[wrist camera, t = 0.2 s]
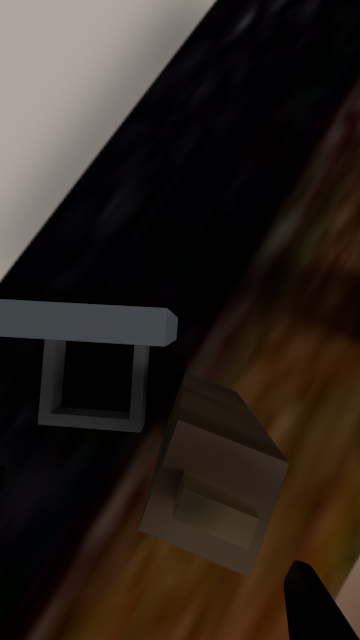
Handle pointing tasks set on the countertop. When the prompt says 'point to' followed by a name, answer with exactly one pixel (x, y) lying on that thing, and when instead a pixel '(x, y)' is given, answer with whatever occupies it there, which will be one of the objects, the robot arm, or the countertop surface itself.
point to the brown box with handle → (213, 477)
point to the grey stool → (88, 326)
